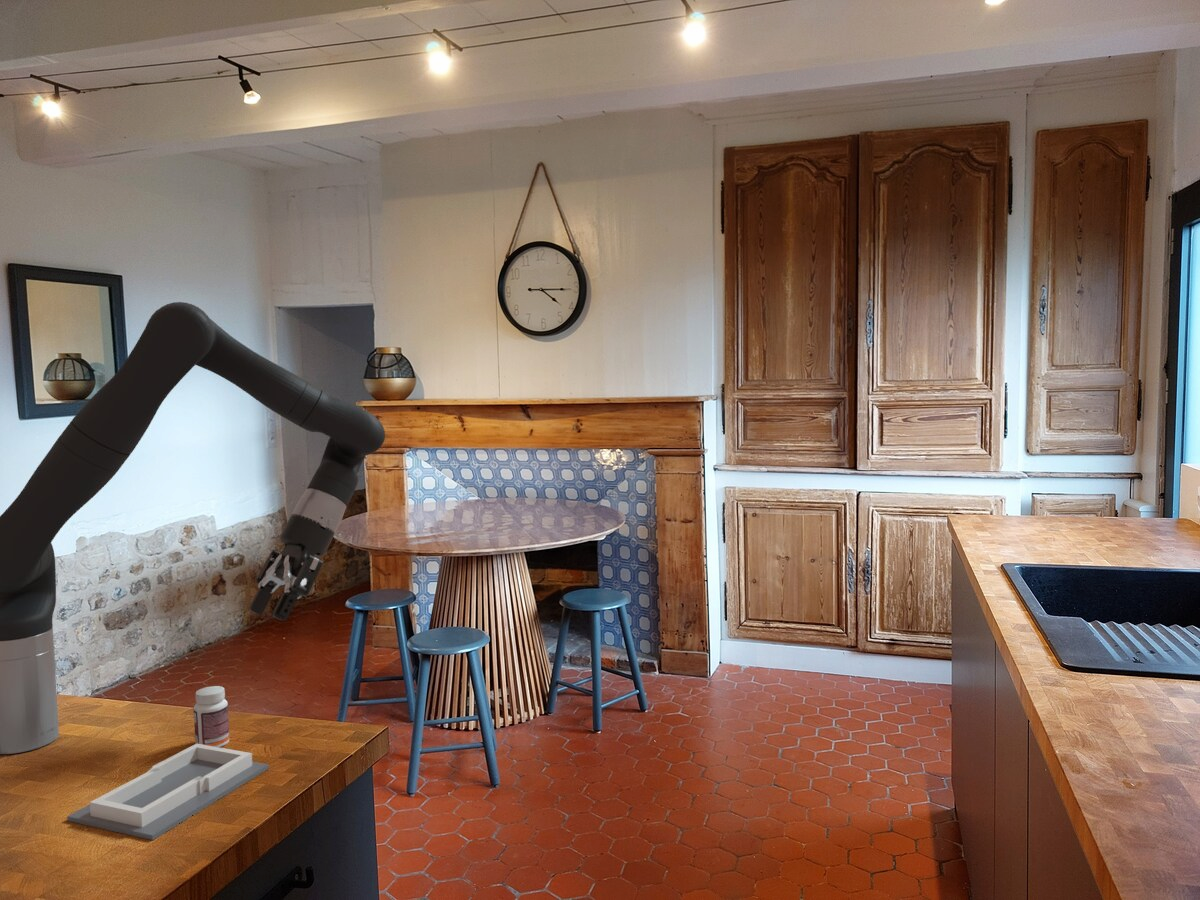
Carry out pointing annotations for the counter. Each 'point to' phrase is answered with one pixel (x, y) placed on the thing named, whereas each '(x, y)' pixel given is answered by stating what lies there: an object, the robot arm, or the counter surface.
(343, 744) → the counter surface
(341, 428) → the robot arm
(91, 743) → the counter surface
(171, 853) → the counter surface
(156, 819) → the walled tray base
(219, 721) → the pill bottle
